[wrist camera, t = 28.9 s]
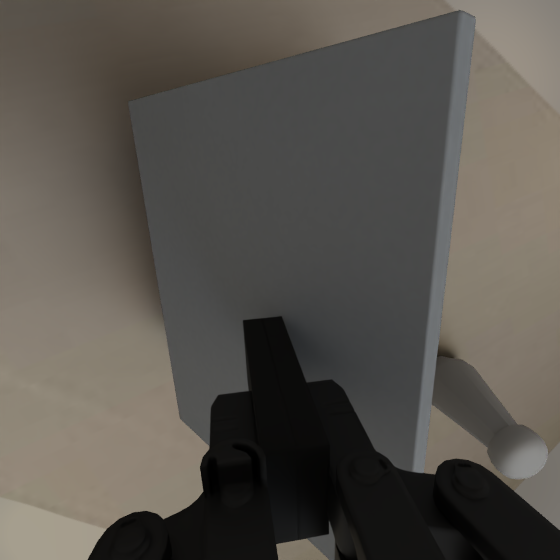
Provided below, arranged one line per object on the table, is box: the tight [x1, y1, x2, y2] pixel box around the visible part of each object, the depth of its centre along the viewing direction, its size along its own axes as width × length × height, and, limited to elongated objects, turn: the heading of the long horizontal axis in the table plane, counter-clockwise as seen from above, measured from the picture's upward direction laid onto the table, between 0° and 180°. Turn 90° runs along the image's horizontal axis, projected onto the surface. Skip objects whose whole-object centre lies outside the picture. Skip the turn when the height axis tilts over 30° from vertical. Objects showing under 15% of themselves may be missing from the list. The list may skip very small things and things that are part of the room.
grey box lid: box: [128, 10, 476, 560], centre depth 17 cm, size 16×20×1 cm
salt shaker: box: [432, 356, 548, 479], centre depth 35 cm, size 6×6×13 cm
